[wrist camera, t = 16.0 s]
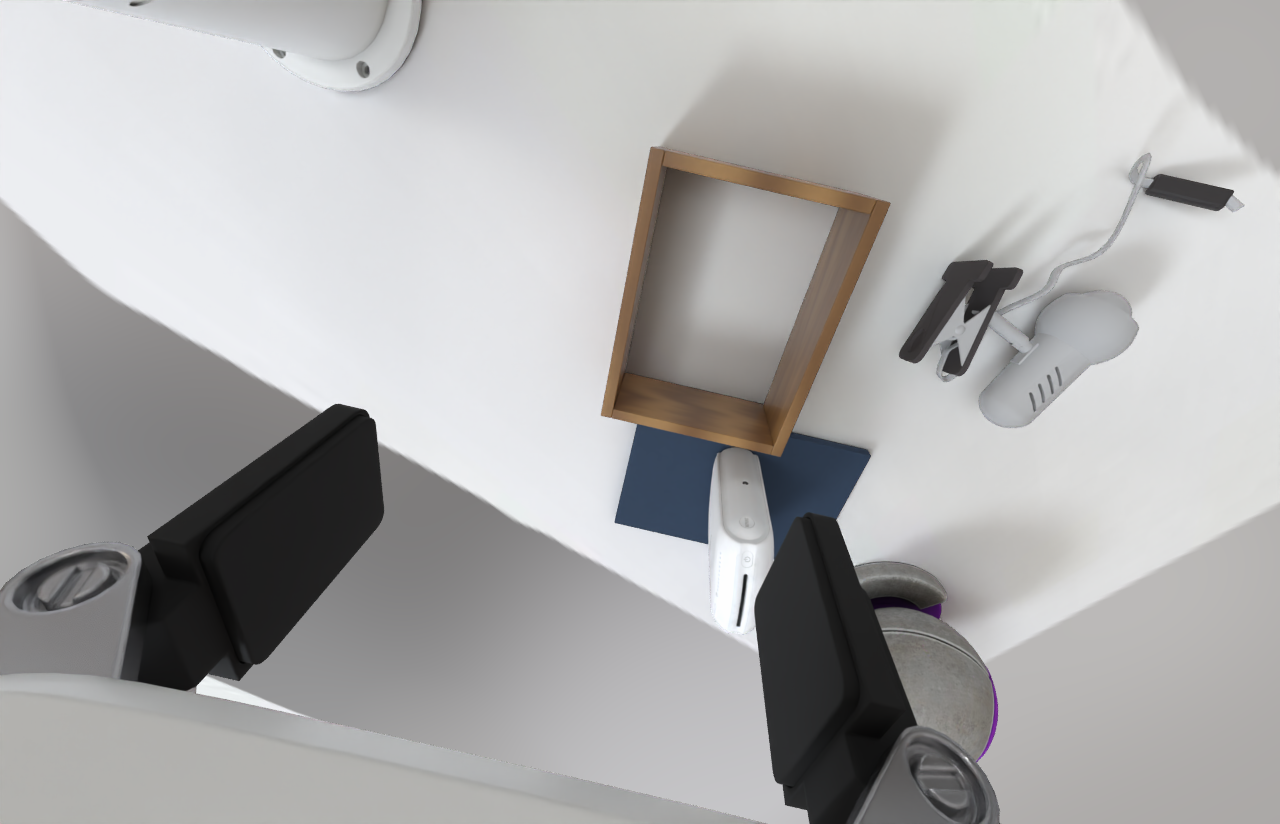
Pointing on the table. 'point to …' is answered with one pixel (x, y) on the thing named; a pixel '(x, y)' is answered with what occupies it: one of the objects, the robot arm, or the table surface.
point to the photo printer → (737, 539)
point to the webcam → (932, 656)
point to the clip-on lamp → (1040, 318)
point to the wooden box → (807, 340)
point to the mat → (682, 472)
